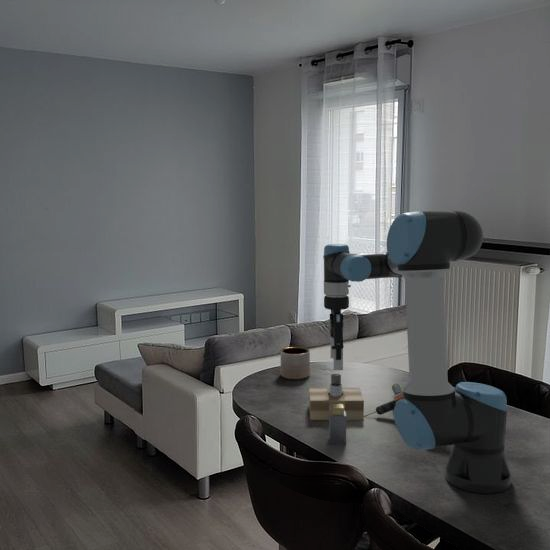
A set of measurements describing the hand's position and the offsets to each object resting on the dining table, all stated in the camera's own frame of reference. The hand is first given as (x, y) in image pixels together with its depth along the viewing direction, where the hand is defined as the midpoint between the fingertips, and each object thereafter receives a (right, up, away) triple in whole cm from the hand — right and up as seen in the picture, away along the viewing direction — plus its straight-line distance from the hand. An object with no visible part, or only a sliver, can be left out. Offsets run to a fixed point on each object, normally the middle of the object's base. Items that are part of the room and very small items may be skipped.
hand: (336, 363), depth 198 cm
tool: (+20, -14, -4) cm, 25 cm away
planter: (-11, -10, +40) cm, 43 cm away
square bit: (-1, -19, -19) cm, 26 cm away
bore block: (0, -16, +3) cm, 16 cm away
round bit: (0, -16, +3) cm, 16 cm away
